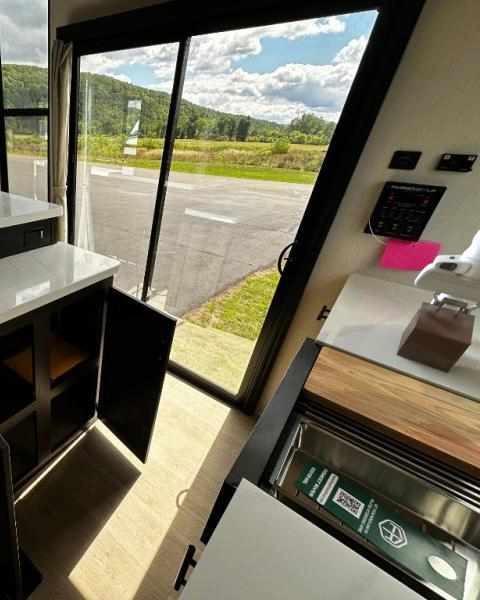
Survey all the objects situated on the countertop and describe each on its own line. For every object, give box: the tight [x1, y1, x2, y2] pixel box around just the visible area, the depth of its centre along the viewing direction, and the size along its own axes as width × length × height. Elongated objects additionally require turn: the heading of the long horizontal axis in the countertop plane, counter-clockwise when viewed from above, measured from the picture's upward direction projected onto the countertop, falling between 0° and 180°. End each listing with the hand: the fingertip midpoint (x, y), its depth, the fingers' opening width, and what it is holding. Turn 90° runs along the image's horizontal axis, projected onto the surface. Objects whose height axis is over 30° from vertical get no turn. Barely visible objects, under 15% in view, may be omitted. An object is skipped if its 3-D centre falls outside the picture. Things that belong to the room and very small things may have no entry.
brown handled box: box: [414, 297, 476, 347], centre depth 92 cm, size 16×11×5 cm
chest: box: [396, 308, 470, 374], centre depth 96 cm, size 15×11×10 cm
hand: (449, 308), depth 95 cm, fingers closed on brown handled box, 5 cm apart
